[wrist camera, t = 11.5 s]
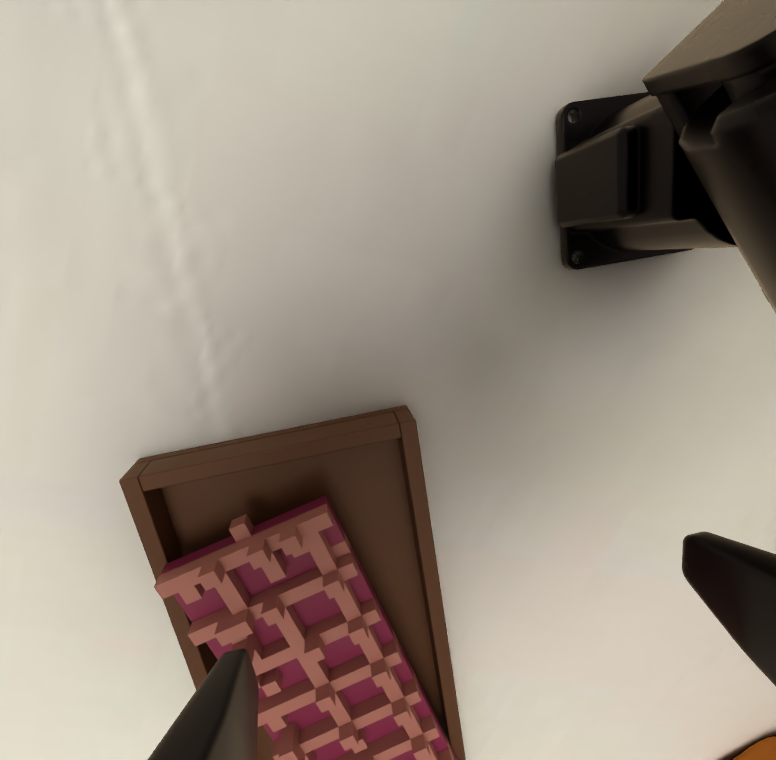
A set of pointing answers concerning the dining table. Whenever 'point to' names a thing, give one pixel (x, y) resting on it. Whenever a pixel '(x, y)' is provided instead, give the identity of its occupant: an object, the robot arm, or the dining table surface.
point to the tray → (296, 488)
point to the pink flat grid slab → (308, 639)
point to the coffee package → (760, 750)
